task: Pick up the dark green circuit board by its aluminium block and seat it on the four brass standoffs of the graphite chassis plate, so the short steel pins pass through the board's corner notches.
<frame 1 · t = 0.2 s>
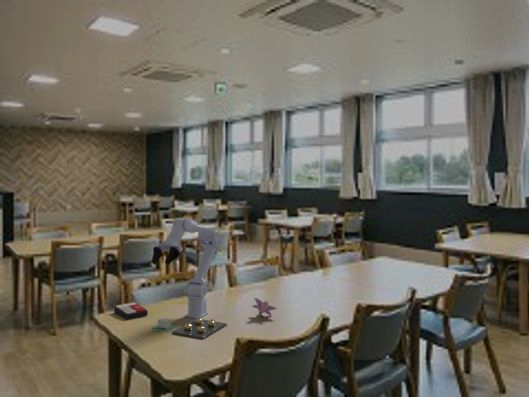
hand: (159, 263, 196), 31 cm above the table, tool tilted 45°, fingers open, 7 cm apart
chassis: (200, 329, 203), on the table
lily: (263, 317, 222), on the table
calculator: (130, 315, 224), on the table
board: (164, 328, 205), on the table
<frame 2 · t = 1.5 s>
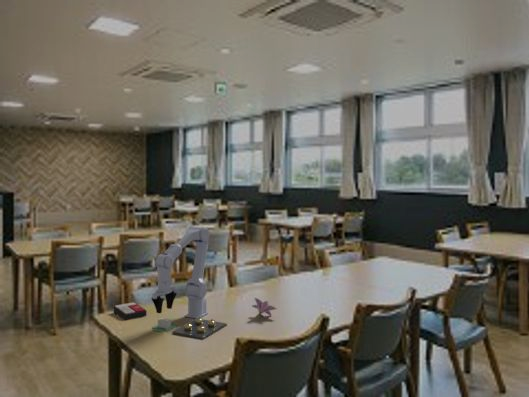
hand: (164, 310, 205), 8 cm above the table, tool pointing down, fingers open, 7 cm apart
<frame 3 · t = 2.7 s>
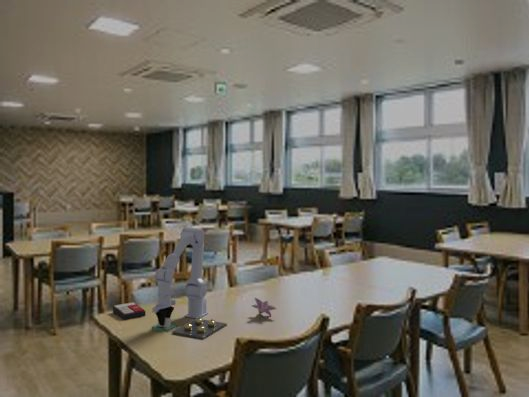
hand: (164, 324, 205), 2 cm above the table, tool pointing down, fingers closed on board, 3 cm apart
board: (164, 327, 205), on the table, touching gripper
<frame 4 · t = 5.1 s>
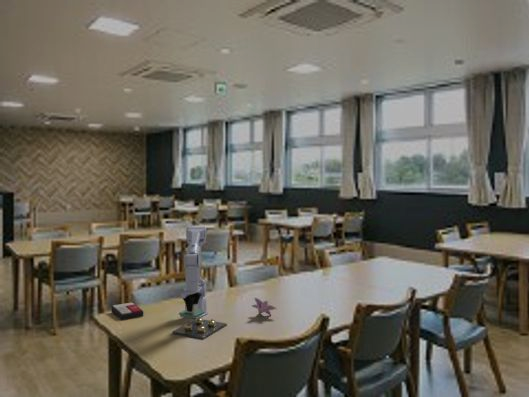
hand: (191, 310, 203), 9 cm above the table, tool pointing down, fingers closed on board, 3 cm apart
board: (191, 313, 203), point 7 cm above the table, touching gripper
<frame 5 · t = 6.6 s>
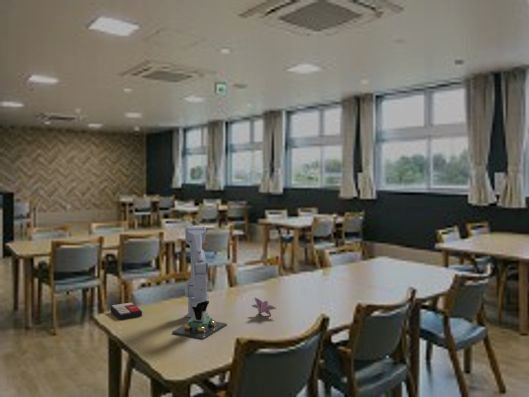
hand: (200, 318, 203), 5 cm above the table, tool pointing down, fingers closed on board, 3 cm apart
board: (199, 321, 203), point 4 cm above the table, tilted 6°, touching chassis, gripper
when the fingers open (5 cm above the table, at t = 7.5 s): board stays where it is, resting on chassis.
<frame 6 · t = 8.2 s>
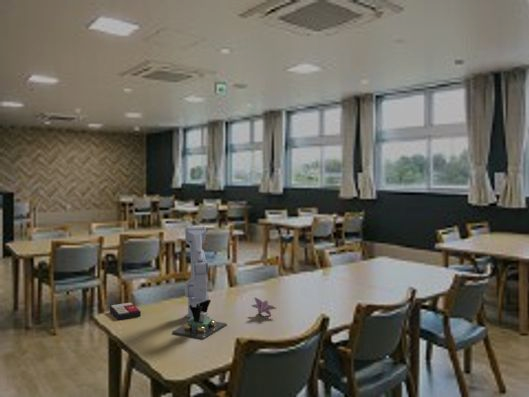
hand: (200, 318, 203), 5 cm above the table, tool pointing down, fingers open, 7 cm apart
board: (199, 321, 203), point 4 cm above the table, tilted 8°, touching chassis
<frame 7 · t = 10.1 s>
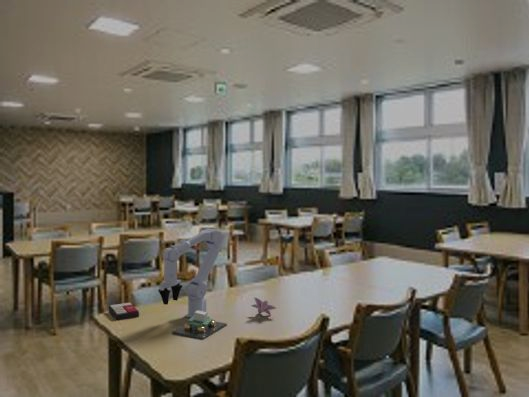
hand: (170, 302, 213), 9 cm above the table, tool pointing down, fingers open, 7 cm apart
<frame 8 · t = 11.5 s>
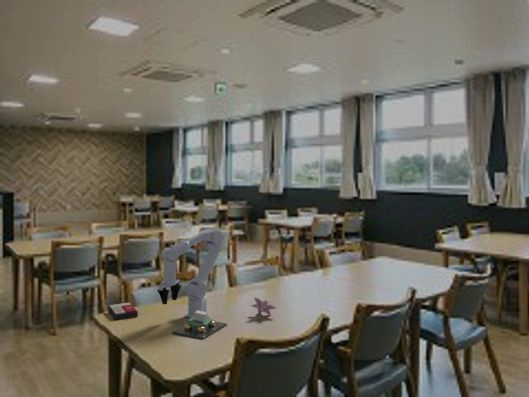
hand: (169, 301, 213), 9 cm above the table, tool pointing down, fingers open, 7 cm apart
at the end: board 0.2 cm off-centre on the chassis, point 3.5 cm above the chassis's base; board tilted 8°; the gripper is holding nothing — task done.
